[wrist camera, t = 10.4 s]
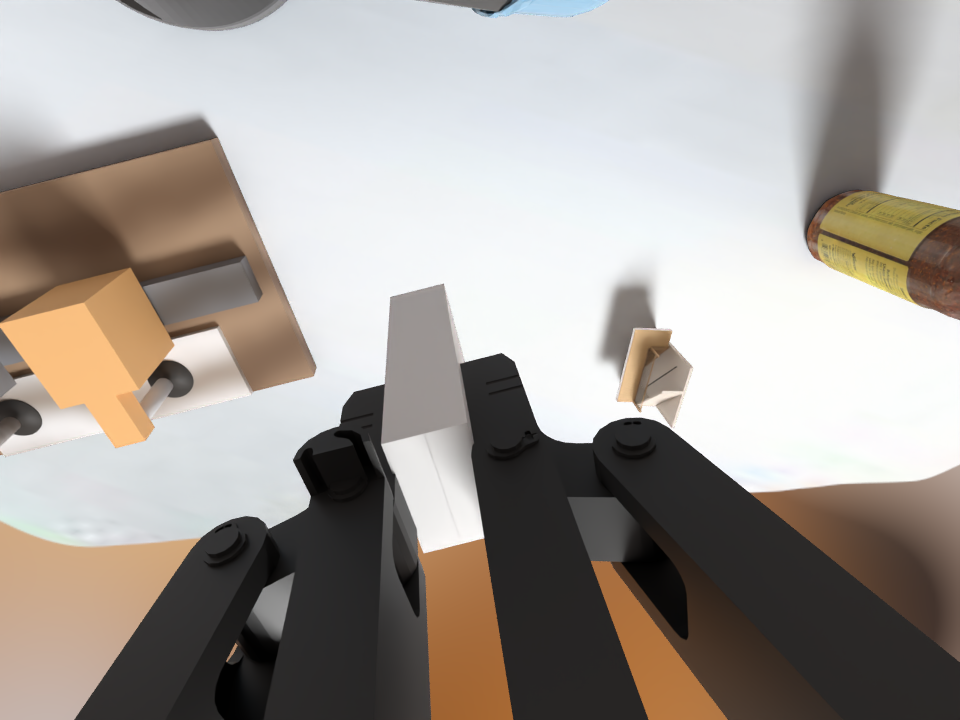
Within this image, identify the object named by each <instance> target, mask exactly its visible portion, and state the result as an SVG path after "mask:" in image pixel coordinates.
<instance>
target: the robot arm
mask: <svg viewBox="0 0 960 720" xmlns="http://www.w3.org/2000/svg"><path fill="white" fill-rule="evenodd" d="M116 1H118V2H120V3H121V4H123V5H125V6H126V7H128V8H130V9H132V10H134V11H136V12H138V13H140V14H142V15H144V16H146V17H149V18H151V19H154V20H157V21H159V22H162V23H166V24H169V25H173V26H178V27H183V28H190V29H197V30H207V31H221V30H230V29H235V28H240V27H244V26H247V25H250V24H252V23H255V22H257V21H259V20H261V19H263V18H265V17H267V16H268V15H270V14H271V13H273V12H274V11H276V10H277V9H278V8H280V7H281V6H282V5H283V4H284V3H285V2H286V1H287V0H116ZM417 1H424V2H432V3H439V4H446V5H453V6H461V7H468V8H472V10H473V11H474V12H476V13H477V14H479V15H481V16H485V17H490V18H497V17H498V16H509V15H511V14H513V13H516V14H528V15H540V16H551V17H573V16H574V15H578V14H581V13H585V12H589V11H591V10H593V9H594V8H597V7H599V6H601V5H603V4H604V3H606V2H607V1H609V0H417ZM340 421H341V424H340V426H339V427H335V428H332V429H329V430H327V431H324V432H321V433H320V434H318V435H316V436H315V437H313V438H311V439H310V440H308V441H307V442H306V443H305V444H304V445H303V446H302V447H301V448H300V449H299V450H298V452H297V453H296V455H295V457H294V459H293V462H294V464H295V466H296V468H297V470H298V472H299V473H300V475H301V477H302V479H303V481H304V483H305V485H306V487H307V489H308V491H309V493H310V495H311V499H310V503H309V507H308V508H307V509H306V510H305V511H303V512H301V513H299V514H298V515H296V516H294V517H292V518H290V519H288V520H286V521H284V522H282V523H280V524H278V525H276V526H274V527H272V528H270V529H268V528H267V526H266V524H265V523H264V522H263V521H261V520H260V519H259V518H257V517H248V516H245V517H240V518H236V519H231V520H229V521H227V522H225V523H223V524H221V525H219V526H217V527H215V528H214V529H212V530H211V531H210V532H208V533H207V534H206V535H204V536H203V537H202V538H201V539H200V540H199V541H198V542H197V544H196V545H195V546H194V547H193V548H192V549H191V551H190V552H189V553H188V555H187V556H186V558H185V559H184V561H183V562H182V564H181V565H180V567H179V568H178V569H177V571H176V572H175V574H174V576H173V577H172V578H171V580H170V581H169V583H168V584H167V586H166V587H165V588H164V590H163V591H162V593H161V594H160V596H159V597H158V599H157V600H156V602H155V603H154V604H153V606H152V607H151V609H150V610H149V612H148V613H147V615H146V616H145V618H144V619H143V621H142V622H141V623H140V625H139V626H138V628H137V629H136V631H135V632H134V634H133V635H132V637H131V638H130V640H129V641H128V642H127V644H126V645H125V647H124V648H123V650H122V651H121V653H120V654H119V656H118V657H117V658H116V660H115V661H114V663H113V664H112V666H111V667H110V669H109V670H108V671H107V673H106V675H105V676H104V677H103V679H102V681H101V682H100V683H99V685H98V686H97V688H96V689H95V691H94V692H93V693H92V695H91V696H90V698H89V699H88V701H87V702H86V704H85V705H84V706H83V708H82V709H81V711H80V712H79V714H78V715H77V717H76V718H75V720H431V706H430V682H429V658H428V634H427V609H426V587H425V586H426V585H425V574H424V571H423V568H422V565H421V563H420V560H419V558H418V546H417V537H418V539H419V542H420V545H421V547H422V550H423V552H424V553H426V552H430V551H434V550H438V549H443V548H447V547H450V546H454V545H458V544H462V543H466V542H470V541H474V540H478V539H482V538H484V539H485V545H486V551H487V558H488V564H489V570H490V576H491V583H492V589H493V595H494V602H495V607H496V613H497V619H498V626H499V633H500V639H501V645H502V651H503V657H504V664H505V670H506V676H507V682H508V688H509V695H510V701H511V707H512V713H513V719H514V720H648V717H647V714H646V712H645V709H644V706H643V703H642V701H641V698H640V695H639V693H638V690H637V687H636V685H635V682H634V679H633V676H632V673H631V671H630V668H629V665H628V663H627V660H626V657H625V654H624V652H623V649H622V646H621V643H620V641H619V638H618V635H617V632H616V630H615V627H614V624H613V621H612V619H611V616H610V613H609V610H608V608H607V605H606V602H605V600H604V597H603V594H602V591H601V588H600V586H599V583H598V580H597V578H596V575H595V572H594V569H593V567H592V564H591V561H611V564H612V565H613V568H614V569H615V570H616V572H617V573H618V575H619V576H620V577H621V579H622V580H623V581H624V582H625V584H626V585H627V586H628V588H629V589H630V590H631V592H632V593H633V594H634V596H635V597H636V598H637V600H638V601H639V602H640V603H641V605H642V606H643V608H644V609H645V610H646V611H647V613H648V614H649V615H650V617H651V618H652V620H653V621H654V622H655V624H656V625H657V626H658V627H659V629H660V630H661V631H662V633H663V634H664V636H665V637H666V638H667V639H668V641H669V642H670V643H671V645H672V646H673V647H674V649H675V650H676V651H677V653H678V654H679V655H680V657H681V658H682V659H683V661H684V662H685V663H686V665H687V666H688V667H689V668H690V670H691V671H692V673H693V674H694V675H695V677H696V678H697V679H698V681H699V682H700V683H701V684H702V686H703V687H704V688H705V690H706V691H707V692H708V694H709V695H710V696H711V698H712V699H713V700H714V702H715V703H716V704H717V706H718V707H719V708H720V710H721V711H722V712H723V714H724V715H725V716H726V717H727V719H728V720H960V662H958V661H957V660H956V659H955V658H954V657H952V656H951V655H950V654H949V653H947V652H946V651H945V650H944V649H943V648H941V647H940V646H939V645H938V644H936V643H935V642H934V641H933V640H931V639H930V638H929V637H927V636H926V635H925V634H924V633H923V632H921V631H920V630H919V629H918V628H916V627H915V626H914V625H913V624H911V623H910V622H909V621H908V620H906V619H905V618H904V617H903V616H902V615H900V614H899V613H898V612H896V611H895V610H894V609H893V608H892V607H890V606H889V605H888V604H887V603H885V602H884V601H883V600H882V599H880V598H879V597H878V596H877V595H875V594H874V593H873V592H872V591H871V590H869V589H868V588H867V587H866V586H864V585H863V584H862V583H860V582H859V581H858V580H857V579H856V578H854V577H853V576H852V575H850V574H849V573H848V572H847V571H846V570H844V569H843V568H842V567H841V566H839V565H838V564H837V563H836V562H835V561H833V560H832V559H831V558H830V557H828V556H827V555H826V554H825V553H823V552H822V551H821V550H820V549H818V548H817V547H816V546H815V545H813V544H812V543H811V542H810V541H809V540H807V539H806V538H805V537H803V536H802V535H801V534H800V533H799V532H797V531H796V530H795V529H794V528H792V527H791V526H790V525H789V524H787V523H786V522H785V521H784V520H782V519H781V518H780V517H779V516H777V515H776V514H775V513H774V512H772V511H771V510H770V509H769V508H768V507H766V506H765V505H764V504H763V503H761V502H760V501H759V500H758V499H756V498H755V497H754V496H753V495H751V494H750V493H749V492H748V491H746V490H745V489H744V488H743V487H742V486H740V485H739V484H738V483H737V482H735V481H734V480H733V479H732V478H730V477H729V476H728V475H727V474H725V473H724V472H723V471H722V470H720V469H719V468H718V467H717V466H715V465H714V464H713V463H712V462H711V461H709V460H708V459H707V458H706V457H704V456H703V455H702V454H701V453H699V452H698V451H697V450H696V449H694V448H693V447H692V446H691V445H689V444H688V443H687V442H686V441H684V440H683V439H682V438H681V437H679V436H678V435H677V434H676V433H675V432H673V431H672V430H671V429H670V428H668V427H667V426H665V425H663V424H661V423H659V422H657V421H654V420H650V419H645V418H625V419H621V420H617V421H614V422H611V423H609V424H608V425H606V426H604V427H603V428H601V429H600V430H599V431H598V433H597V434H596V436H595V437H594V438H593V443H565V442H561V441H556V440H554V439H552V438H550V437H548V436H546V435H545V434H544V433H543V432H541V431H540V429H539V427H538V425H537V423H536V420H535V418H534V415H533V412H532V409H531V406H530V404H529V401H528V398H527V395H526V393H525V390H524V387H523V384H522V381H521V379H520V377H519V373H518V370H517V368H516V365H515V362H514V361H512V360H511V359H510V358H508V357H507V356H505V355H504V354H502V353H501V354H497V355H493V356H489V357H485V358H481V359H477V360H473V361H469V362H465V361H464V357H463V353H462V350H461V346H460V342H459V338H458V335H457V331H456V327H455V324H454V320H453V316H452V313H451V309H450V305H449V301H448V298H447V294H446V290H445V287H444V284H440V285H436V286H433V287H429V288H425V289H421V290H417V291H413V292H409V293H405V294H401V295H397V296H393V297H390V312H389V328H388V343H387V359H386V375H385V384H384V385H380V386H376V387H372V388H368V389H364V390H360V391H356V392H354V393H353V394H352V395H351V397H350V398H349V399H348V401H347V402H346V403H345V405H344V406H343V409H342V415H341V420H340ZM235 643H236V644H237V645H238V646H237V648H236V650H235V652H234V654H233V655H232V656H231V658H230V659H229V661H228V662H226V660H227V658H228V656H229V654H230V652H231V650H232V648H233V647H234V645H235Z"/></svg>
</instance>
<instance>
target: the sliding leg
mask: <svg viewBox="0 0 960 720" xmlns="http://www.w3.org/2000/svg"><path fill="white" fill-rule="evenodd" d="M0 328H1V329H2V331H3V332H4V333H5V335H6V336H7V337H8V339H9V340H10V341H11V343H12V344H13V345H14V347H15V348H16V350H17V351H18V352H19V354H20V355H21V356H22V358H23V359H24V360H25V362H26V363H27V364H28V366H29V367H30V369H31V370H32V371H33V373H34V374H35V375H36V377H37V378H38V379H39V381H40V382H41V383H42V385H43V386H44V388H45V389H46V390H47V392H48V393H49V394H50V396H51V397H52V398H53V400H54V401H55V402H56V404H57V405H58V406H59V408H60V409H64V408H68V407H72V406H76V405H80V404H85V405H86V407H87V408H88V410H89V411H90V412H91V414H92V415H93V417H94V418H95V419H96V421H97V422H98V424H99V425H100V427H101V428H102V429H103V431H104V432H105V434H106V435H107V436H108V438H109V439H110V441H111V442H112V444H113V445H114V446H115V448H118V447H122V446H126V445H130V444H134V443H138V442H142V441H146V439H147V438H148V436H149V435H150V433H151V432H152V430H153V429H154V425H153V424H152V422H151V418H152V417H153V416H154V414H155V413H156V411H157V410H158V408H159V407H160V406H161V404H162V403H163V401H164V400H165V399H166V397H167V396H168V394H169V393H170V392H171V390H172V389H173V384H172V382H171V381H170V380H168V379H166V378H160V379H158V380H157V381H156V382H155V383H154V385H153V386H152V387H151V389H150V390H149V391H148V393H147V394H146V395H145V396H144V398H143V399H142V400H141V402H140V403H139V402H138V400H137V399H136V397H135V396H134V394H133V393H132V391H136V390H139V389H140V388H141V387H142V385H143V384H144V383H145V382H146V380H147V379H148V378H149V377H150V376H151V374H152V373H153V372H154V371H155V369H156V368H157V367H158V366H159V364H160V363H161V362H162V361H163V359H164V358H165V357H166V356H167V354H168V353H169V352H170V351H171V350H172V348H173V347H174V346H175V345H174V343H173V341H172V340H171V338H170V336H169V334H168V333H167V331H166V329H165V327H164V326H163V324H162V322H161V320H160V319H159V317H158V315H157V313H156V312H155V310H154V308H153V306H152V305H151V303H150V301H149V299H148V298H147V296H146V294H145V292H144V291H143V289H142V287H141V285H140V283H139V282H138V280H137V278H136V276H135V275H134V273H133V271H132V269H131V268H126V269H122V270H118V271H114V272H110V273H106V274H102V275H98V276H94V277H90V278H86V279H82V280H78V281H74V282H71V283H67V284H63V285H59V286H56V287H54V288H53V289H51V290H50V291H48V292H47V293H45V294H44V295H42V296H41V297H39V298H38V299H36V300H34V301H33V302H31V303H30V304H28V305H27V306H25V307H24V308H22V309H21V310H19V311H17V312H16V313H14V314H13V315H11V316H10V317H8V318H7V319H5V320H4V321H2V322H1V323H0Z"/></svg>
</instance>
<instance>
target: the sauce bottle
mask: <svg viewBox="0 0 960 720" xmlns="http://www.w3.org/2000/svg"><path fill="white" fill-rule="evenodd" d="M807 243H808V246H809V250H810V252H811V254H812V255H813V257H814V258H815V259H817V260H819V261H821V262H823V263H825V264H826V265H827V266H828V267H830V268H832V269H834V270H837V271H839V272H841V273H844V274H846V275H848V276H851V277H853V278H855V279H858V280H860V281H862V282H865V283H867V284H870V285H872V286H874V287H877V288H879V289H881V290H884V291H886V292H888V293H891V294H893V295H895V296H898V297H900V298H902V299H905V300H907V301H909V302H912V303H914V304H916V305H919V306H921V307H924V308H928V309H933V310H936V311H938V312H940V313H942V314H944V315H947V316H949V317H952V318H955V319H958V320H960V210H956V209H952V208H947V207H943V206H938V205H934V204H929V203H925V202H920V201H916V200H911V199H906V198H901V197H896V196H892V195H888V194H884V193H879V192H874V191H862V190H854V191H848V192H846V193H842V194H840V195H836V196H834V197H833V198H831V199H829V200H828V201H826V202H825V203H824V204H823V205H822V207H821V208H820V209H819V210H818V212H817V213H816V215H815V217H814V218H813V220H812V222H811V224H810V225H809V228H808V233H807Z"/></svg>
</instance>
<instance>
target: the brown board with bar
mask: <svg viewBox="0 0 960 720" xmlns="http://www.w3.org/2000/svg"><path fill="white" fill-rule="evenodd" d="M126 268H131V269H132V271H133V273H134V275H135V276H136V278H137V280H138V282H139V283H140V285H141V287H142V289H143V291H144V292H145V294H146V296H147V298H148V299H149V301H150V303H151V305H152V306H153V308H154V310H155V312H156V313H157V315H158V317H159V319H160V320H161V322H162V324H163V326H164V327H165V329H166V331H167V333H168V334H169V336H170V338H171V340H172V341H173V343H174V345H175V346H174V347H173V348H172V350H171V351H170V352H169V353H168V354H167V356H166V357H165V358H164V359H163V361H162V362H161V363H160V364H159V366H158V367H157V368H156V369H155V371H154V372H153V373H152V374H151V376H150V377H149V378H148V379H147V380H146V382H145V383H144V384H143V385H142V387H141V388H140V389H139V390H136V391H132V393H133V394H134V396H135V397H136V399H137V400H138V402H139V403H140V402H141V400H142V399H143V398H144V396H145V395H146V394H147V393H148V391H149V390H150V389H151V387H152V386H153V385H154V383H155V382H156V381H157V380H158V379H160V378H166V379H168V380H170V381H171V382H172V384H173V389H172V390H171V392H170V393H169V394H168V396H167V397H166V399H165V400H164V401H163V403H162V404H161V406H160V407H159V408H158V410H157V411H156V413H155V414H154V416H153V417H152V418H151V420H154V419H158V418H162V417H166V416H170V415H174V414H178V413H182V412H186V411H190V410H193V409H197V408H201V407H205V406H209V405H213V404H217V403H221V402H225V401H229V400H233V399H237V398H241V397H245V396H249V395H252V392H253V391H257V390H261V389H265V388H269V387H273V386H277V385H281V384H285V383H289V382H293V381H297V380H301V379H305V378H309V377H313V376H314V374H315V370H316V365H315V362H314V360H313V358H312V355H311V353H310V351H309V348H308V346H307V344H306V341H305V339H304V337H303V334H302V332H301V330H300V328H299V325H298V323H297V321H296V318H295V316H294V314H293V311H292V309H291V307H290V304H289V302H288V300H287V297H286V295H285V293H284V290H283V288H282V286H281V283H280V281H279V279H278V276H277V274H276V272H275V269H274V267H273V265H272V262H271V260H270V258H269V255H268V253H267V251H266V249H265V246H264V244H263V242H262V239H261V237H260V235H259V232H258V230H257V228H256V225H255V223H254V221H253V218H252V216H251V214H250V211H249V209H248V207H247V204H246V202H245V200H244V197H243V195H242V193H241V190H240V188H239V186H238V183H237V181H236V179H235V176H234V174H233V172H232V169H231V167H230V165H229V163H228V160H227V158H226V156H225V153H224V151H223V149H222V146H221V144H220V142H219V139H218V137H217V138H213V139H209V140H205V141H202V142H198V143H194V144H190V145H186V146H182V147H178V148H174V149H170V150H166V151H162V152H158V153H154V154H150V155H146V156H142V157H138V158H134V159H130V160H126V161H123V162H119V163H115V164H111V165H107V166H103V167H99V168H95V169H91V170H87V171H83V172H79V173H75V174H71V175H67V176H63V177H59V178H55V179H51V180H47V181H43V182H40V183H36V184H32V185H28V186H24V187H20V188H16V189H12V190H8V191H4V192H0V323H1V322H2V321H4V320H5V319H7V318H8V317H10V316H11V315H13V314H14V313H16V312H17V311H19V310H21V309H22V308H24V307H25V306H27V305H28V304H30V303H31V302H33V301H34V300H36V299H38V298H39V297H41V296H42V295H44V294H45V293H47V292H48V291H50V290H51V289H53V288H54V287H56V286H59V285H63V284H67V283H71V282H74V281H78V280H82V279H86V278H90V277H94V276H98V275H102V274H106V273H110V272H114V271H118V270H122V269H126ZM102 432H104V431H103V429H102V428H101V427H100V425H99V424H98V422H97V421H96V419H95V418H94V417H93V415H92V414H91V412H90V411H89V410H88V408H87V407H86V405H85V404H80V405H76V406H72V407H68V408H64V409H60V408H59V406H58V405H57V404H56V402H55V401H54V400H53V398H52V397H51V396H50V394H49V393H48V392H47V390H46V389H45V388H44V386H43V385H42V383H41V382H40V381H39V379H38V378H37V377H36V375H35V374H34V373H33V371H32V370H31V369H30V367H29V366H28V364H27V363H26V362H25V360H24V359H23V358H22V356H21V355H20V354H19V352H18V351H17V350H16V348H15V347H14V345H13V344H12V343H11V341H10V340H9V339H8V337H7V336H6V335H5V333H4V332H3V331H2V329H1V328H0V455H4V456H5V457H7V456H11V455H15V454H19V453H23V452H27V451H31V450H35V449H39V448H43V447H47V446H51V445H55V444H59V443H63V442H67V441H70V440H74V439H78V438H82V437H86V436H90V435H94V434H98V433H102Z"/></svg>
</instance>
